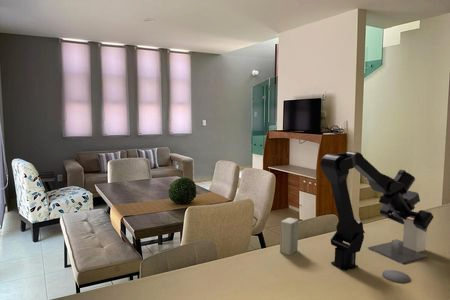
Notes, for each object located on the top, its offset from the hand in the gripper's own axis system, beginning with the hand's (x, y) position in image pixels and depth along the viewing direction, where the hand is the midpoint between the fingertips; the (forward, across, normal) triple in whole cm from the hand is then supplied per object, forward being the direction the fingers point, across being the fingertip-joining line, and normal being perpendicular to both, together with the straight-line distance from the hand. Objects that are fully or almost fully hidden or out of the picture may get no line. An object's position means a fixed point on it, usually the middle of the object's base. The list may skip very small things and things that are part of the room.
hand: (414, 227), depth 133 cm
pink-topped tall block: (+6, 0, +6) cm, 9 cm away
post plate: (0, 0, +12) cm, 13 cm away
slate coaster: (-12, -13, +24) cm, 30 cm away
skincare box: (-26, +18, +38) cm, 49 cm away
